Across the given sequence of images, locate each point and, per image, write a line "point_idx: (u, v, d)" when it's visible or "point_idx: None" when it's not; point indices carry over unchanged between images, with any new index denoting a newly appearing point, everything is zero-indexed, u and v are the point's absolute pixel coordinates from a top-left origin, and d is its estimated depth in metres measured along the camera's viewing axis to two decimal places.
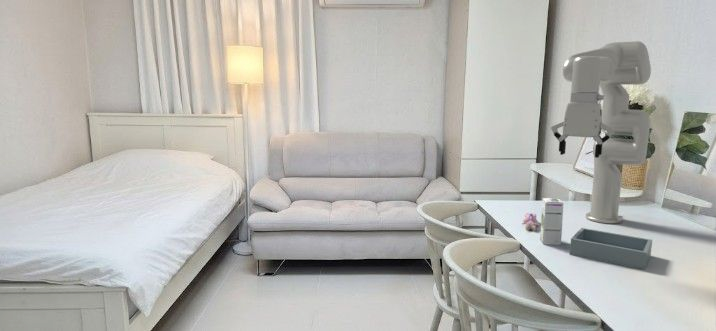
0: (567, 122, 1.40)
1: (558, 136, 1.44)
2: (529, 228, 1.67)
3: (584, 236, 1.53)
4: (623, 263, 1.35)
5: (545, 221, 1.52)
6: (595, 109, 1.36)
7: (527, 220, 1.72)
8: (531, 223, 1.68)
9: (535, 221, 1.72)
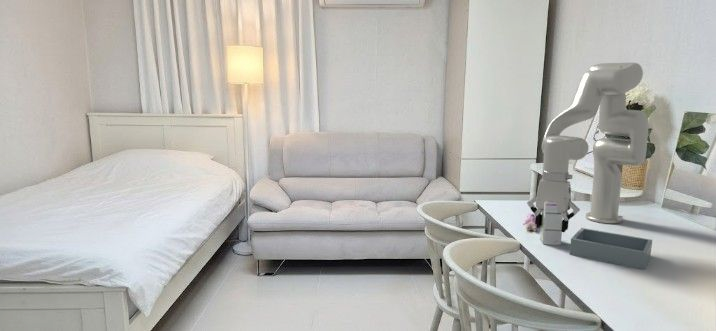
0: (539, 197, 1.53)
1: (534, 210, 1.56)
2: (530, 228, 1.67)
3: (584, 236, 1.53)
4: (623, 263, 1.35)
5: (545, 221, 1.52)
6: (564, 188, 1.48)
7: (529, 221, 1.72)
8: (532, 224, 1.67)
9: None
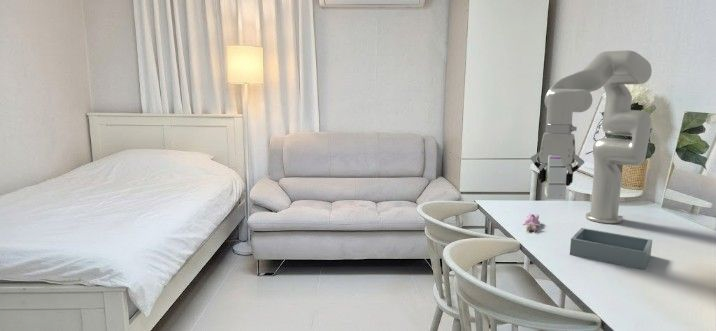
0: (543, 151, 1.51)
1: (538, 165, 1.54)
2: (530, 229, 1.66)
3: (584, 236, 1.53)
4: (623, 263, 1.35)
5: (549, 175, 1.49)
6: (568, 140, 1.45)
7: (529, 221, 1.71)
8: (532, 224, 1.67)
9: (537, 222, 1.70)
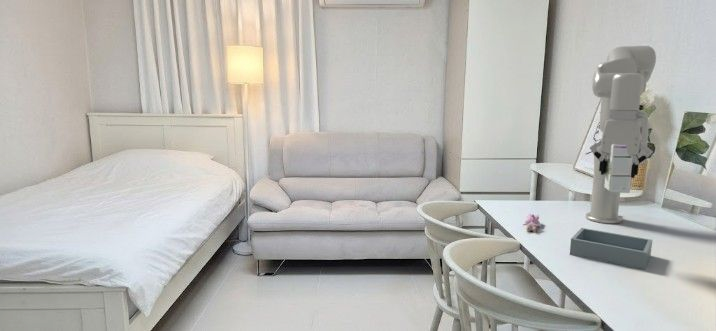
0: (605, 140, 1.38)
1: (598, 156, 1.41)
2: (530, 229, 1.66)
3: (584, 236, 1.53)
4: (623, 263, 1.35)
5: (612, 166, 1.36)
6: (635, 127, 1.33)
7: (529, 221, 1.71)
8: (532, 224, 1.66)
9: (537, 222, 1.70)
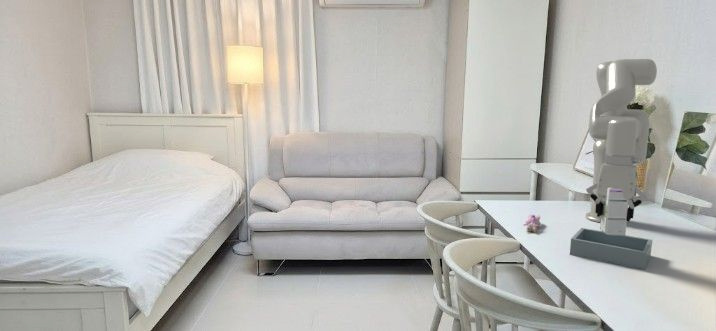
0: (601, 183, 1.40)
1: (595, 198, 1.43)
2: (530, 230, 1.66)
3: (584, 236, 1.53)
4: (623, 263, 1.35)
5: (608, 209, 1.39)
6: (631, 172, 1.35)
7: (529, 222, 1.70)
8: (532, 225, 1.66)
9: (538, 223, 1.70)
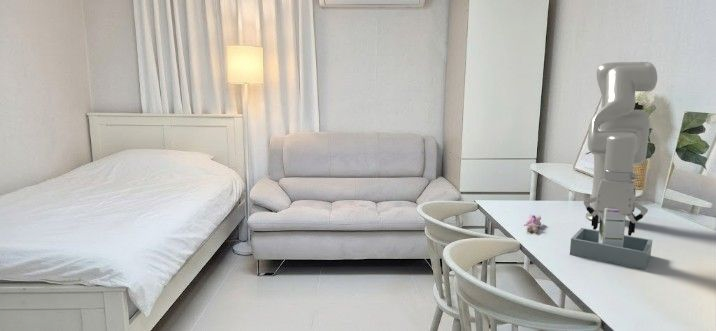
0: (600, 198, 1.41)
1: (591, 211, 1.44)
2: (530, 230, 1.65)
3: (584, 236, 1.53)
4: (623, 263, 1.35)
5: (605, 229, 1.40)
6: (629, 188, 1.36)
7: (530, 222, 1.70)
8: (532, 225, 1.66)
9: (538, 223, 1.69)
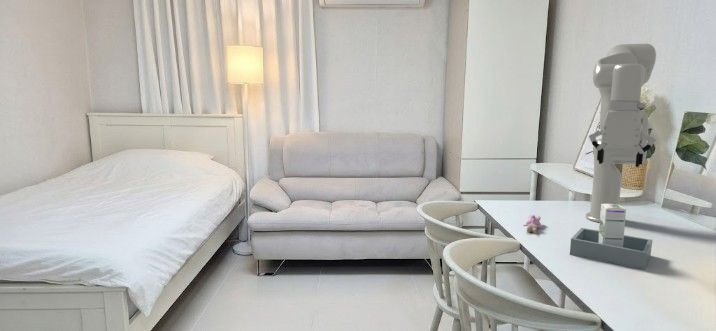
0: (606, 131, 1.38)
1: (596, 145, 1.41)
2: (530, 230, 1.65)
3: (584, 236, 1.53)
4: (623, 263, 1.35)
5: (605, 229, 1.40)
6: (636, 118, 1.32)
7: (530, 222, 1.70)
8: (532, 225, 1.65)
9: (538, 223, 1.69)
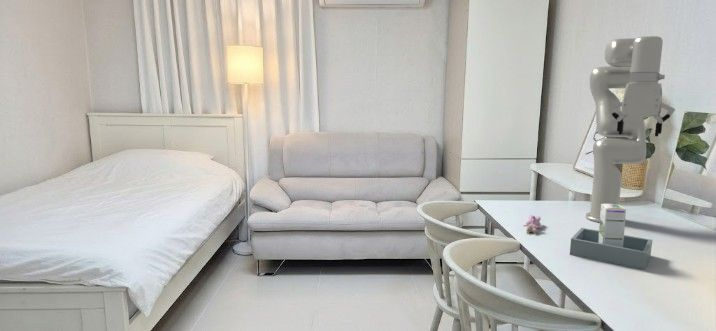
0: (626, 102, 1.43)
1: (616, 116, 1.46)
2: (530, 230, 1.64)
3: (584, 236, 1.53)
4: (623, 263, 1.35)
5: (605, 229, 1.40)
6: (656, 88, 1.38)
7: (530, 222, 1.69)
8: (532, 225, 1.65)
9: (538, 224, 1.68)
